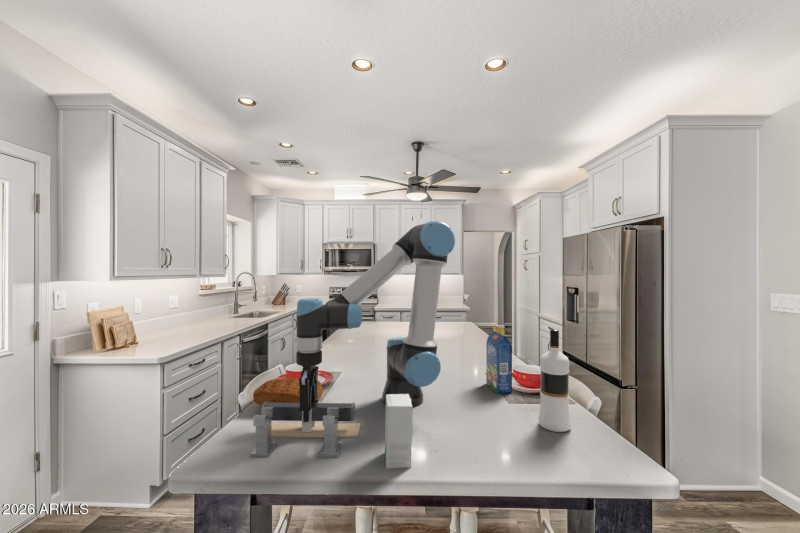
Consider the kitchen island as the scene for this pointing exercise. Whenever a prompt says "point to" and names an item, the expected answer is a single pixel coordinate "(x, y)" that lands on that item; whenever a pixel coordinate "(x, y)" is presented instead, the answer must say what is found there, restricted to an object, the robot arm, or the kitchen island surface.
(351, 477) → the kitchen island surface
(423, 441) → the kitchen island surface
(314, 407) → the rail
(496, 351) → the blue food package
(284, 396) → the inscribed clay slab
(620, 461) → the kitchen island surface
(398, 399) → the skincare box
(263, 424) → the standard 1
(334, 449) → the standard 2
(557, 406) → the vodka
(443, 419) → the kitchen island surface
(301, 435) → the mat
